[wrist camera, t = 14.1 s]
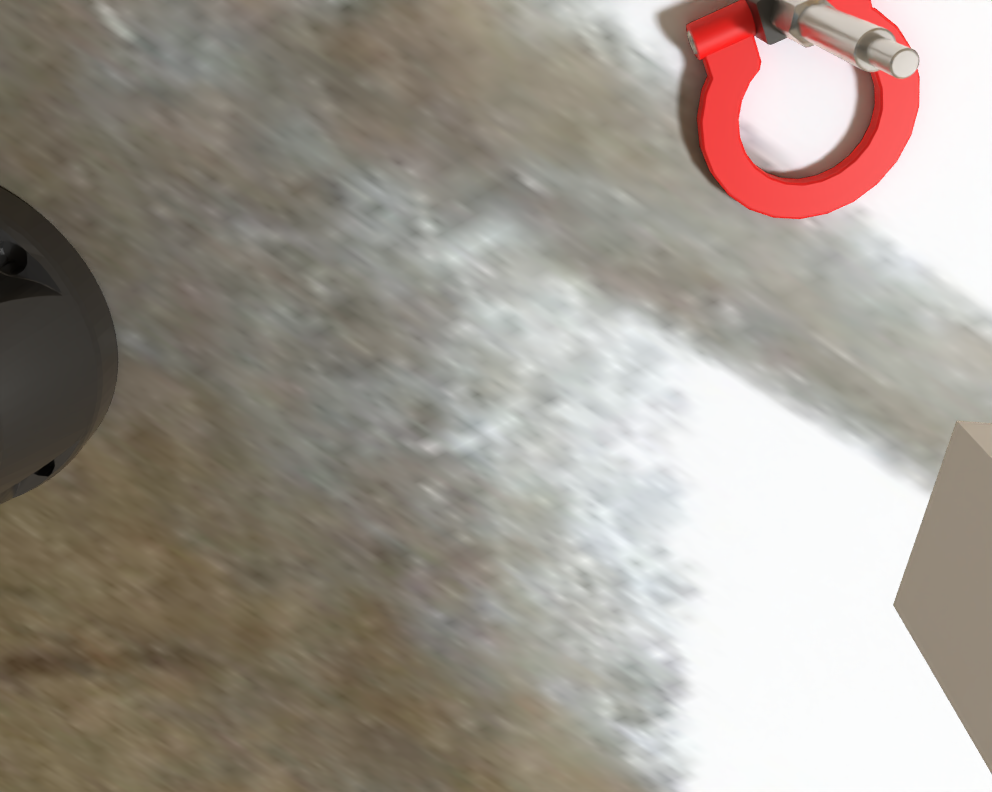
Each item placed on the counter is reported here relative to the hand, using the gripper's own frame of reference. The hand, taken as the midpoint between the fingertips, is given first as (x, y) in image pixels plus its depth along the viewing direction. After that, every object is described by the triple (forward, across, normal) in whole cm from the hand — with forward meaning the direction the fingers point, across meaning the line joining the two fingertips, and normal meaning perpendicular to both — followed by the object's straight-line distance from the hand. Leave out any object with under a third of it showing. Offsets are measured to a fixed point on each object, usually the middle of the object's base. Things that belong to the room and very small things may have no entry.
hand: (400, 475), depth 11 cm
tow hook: (+29, +13, +1) cm, 32 cm away
